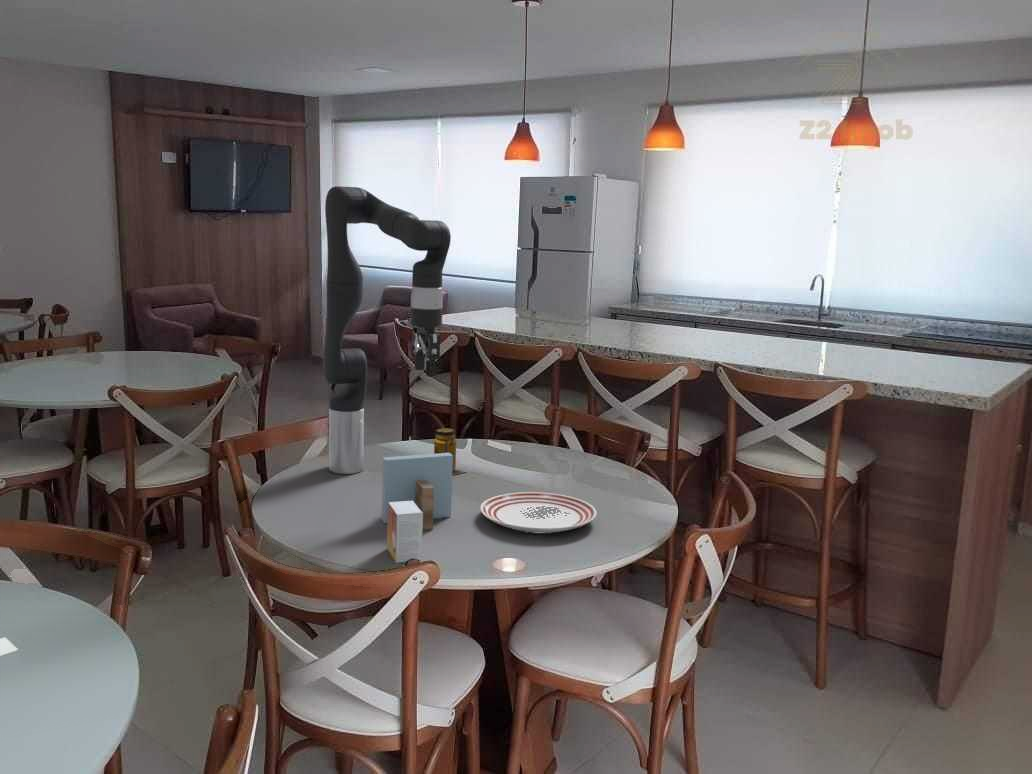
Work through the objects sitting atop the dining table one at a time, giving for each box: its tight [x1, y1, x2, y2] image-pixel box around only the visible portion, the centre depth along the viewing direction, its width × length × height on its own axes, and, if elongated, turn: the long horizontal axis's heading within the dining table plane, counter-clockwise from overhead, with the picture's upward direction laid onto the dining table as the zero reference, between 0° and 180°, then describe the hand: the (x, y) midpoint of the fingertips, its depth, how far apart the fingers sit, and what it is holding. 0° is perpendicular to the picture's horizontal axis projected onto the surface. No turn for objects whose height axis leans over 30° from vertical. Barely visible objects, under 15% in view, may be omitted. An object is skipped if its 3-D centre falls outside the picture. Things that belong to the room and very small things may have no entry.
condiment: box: [433, 427, 468, 476], centre depth 241 cm, size 7×8×12 cm
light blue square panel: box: [381, 453, 453, 524], centre depth 204 cm, size 2×16×15 cm, turn 113°
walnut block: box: [409, 480, 434, 532], centre depth 204 cm, size 16×2×10 cm, turn 24°
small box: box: [386, 501, 423, 564], centre depth 183 cm, size 8×6×10 cm
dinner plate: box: [479, 491, 597, 533], centre depth 208 cm, size 27×27×3 cm
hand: (424, 373), depth 211 cm, fingers open, 8 cm apart
